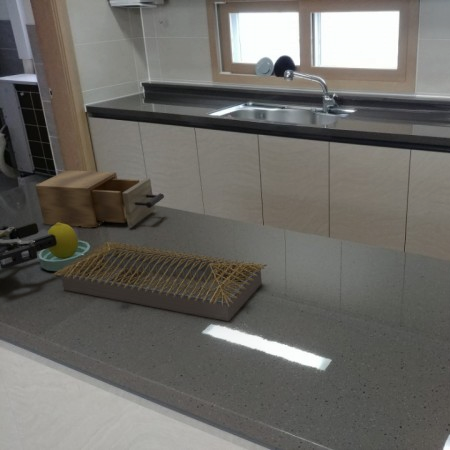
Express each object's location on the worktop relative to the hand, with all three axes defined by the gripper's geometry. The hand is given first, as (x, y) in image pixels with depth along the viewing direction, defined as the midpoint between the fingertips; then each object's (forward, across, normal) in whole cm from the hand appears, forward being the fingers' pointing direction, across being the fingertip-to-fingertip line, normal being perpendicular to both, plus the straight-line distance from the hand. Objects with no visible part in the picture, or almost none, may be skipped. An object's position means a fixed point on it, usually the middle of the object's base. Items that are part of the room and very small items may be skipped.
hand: (45, 233), depth 102 cm
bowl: (+3, 0, +7) cm, 8 cm away
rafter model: (+10, -24, +7) cm, 27 cm away
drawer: (+22, +10, +6) cm, 25 cm away
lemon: (+3, 0, +7) cm, 7 cm away
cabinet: (+16, +20, +7) cm, 27 cm away
